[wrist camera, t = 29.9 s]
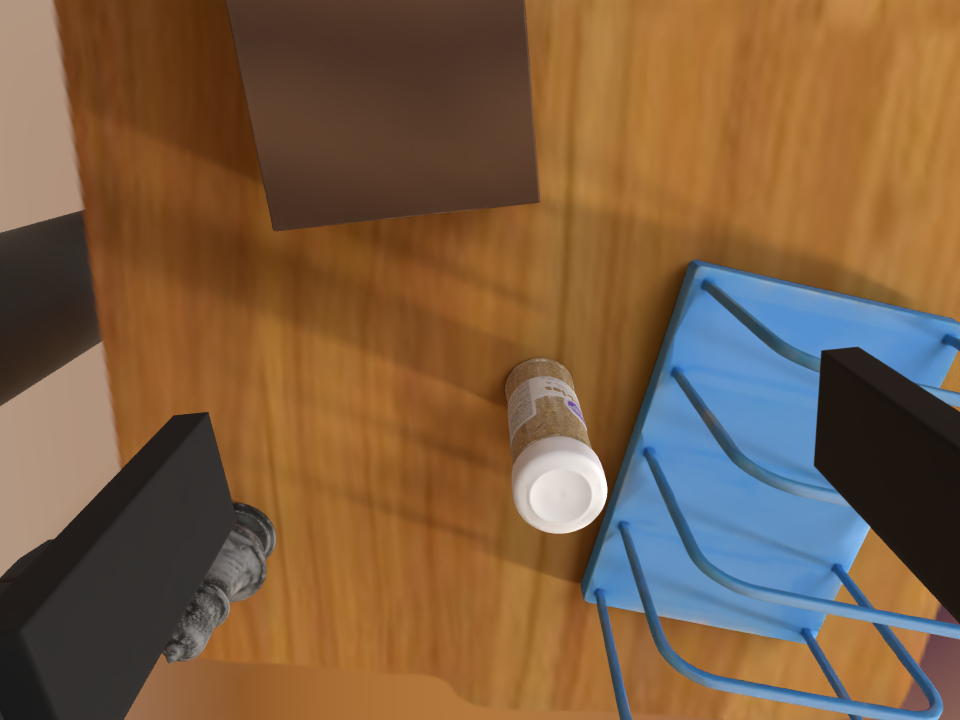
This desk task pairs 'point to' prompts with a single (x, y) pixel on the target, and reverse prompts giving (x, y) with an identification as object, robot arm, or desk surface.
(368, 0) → the cabinet
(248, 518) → the grey chess piece
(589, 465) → the sprinkles bottle
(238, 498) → the desk surface
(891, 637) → the file sorter
